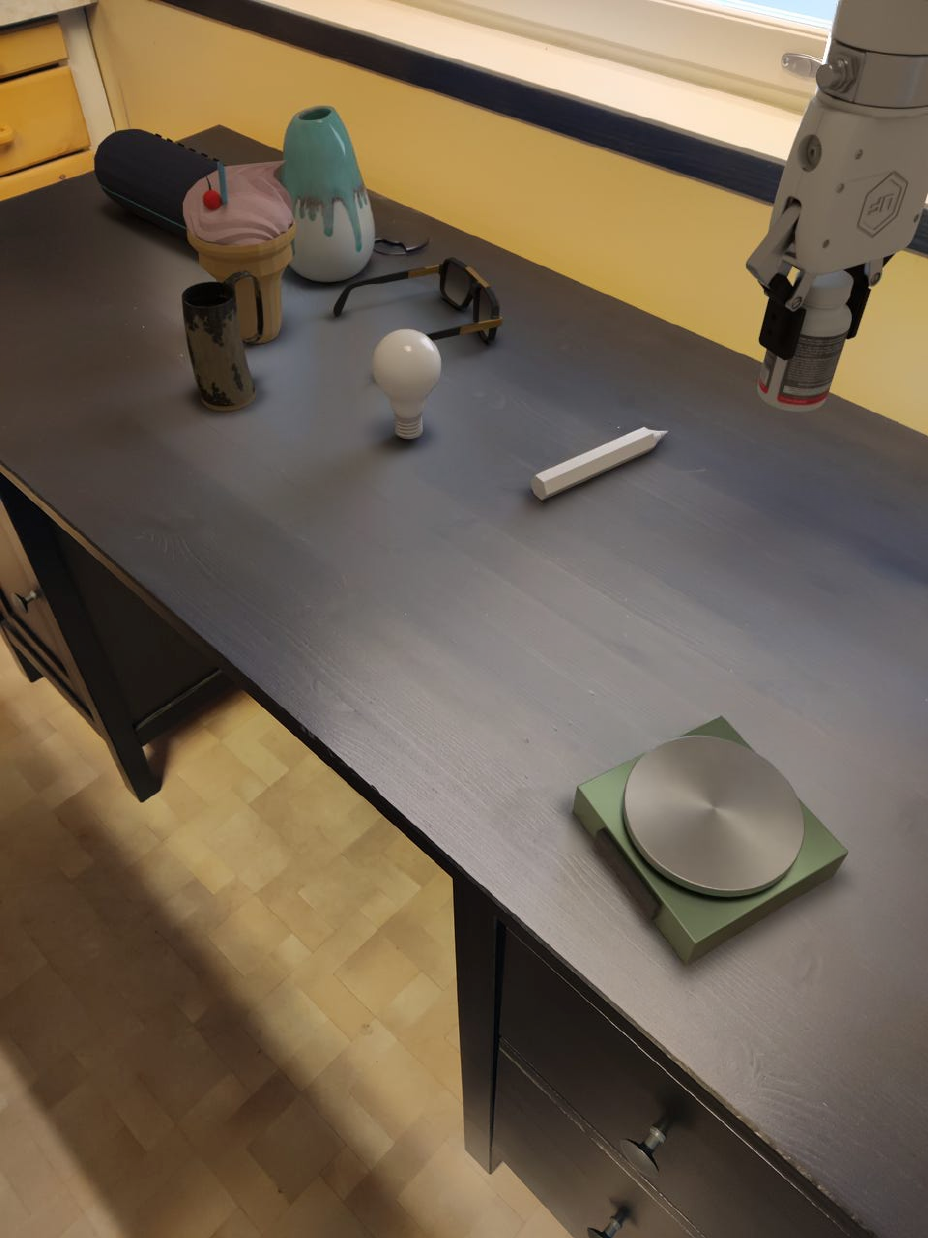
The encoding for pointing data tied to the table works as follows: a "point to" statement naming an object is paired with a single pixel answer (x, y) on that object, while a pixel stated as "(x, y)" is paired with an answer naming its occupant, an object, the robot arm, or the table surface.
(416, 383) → the lightbulb
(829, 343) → the pill bottle
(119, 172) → the portable speaker
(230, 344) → the mug
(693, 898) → the scale
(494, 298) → the sunglasses
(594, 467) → the white pencil
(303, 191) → the vase
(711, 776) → the pan
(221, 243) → the ice cream cone
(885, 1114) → the table surface
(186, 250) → the table surface
